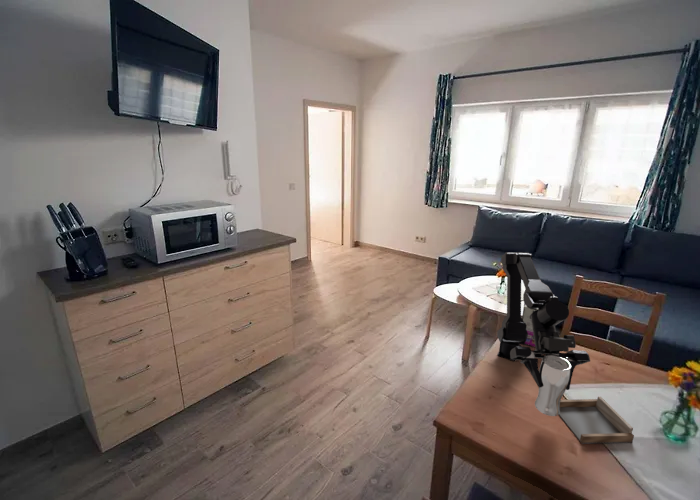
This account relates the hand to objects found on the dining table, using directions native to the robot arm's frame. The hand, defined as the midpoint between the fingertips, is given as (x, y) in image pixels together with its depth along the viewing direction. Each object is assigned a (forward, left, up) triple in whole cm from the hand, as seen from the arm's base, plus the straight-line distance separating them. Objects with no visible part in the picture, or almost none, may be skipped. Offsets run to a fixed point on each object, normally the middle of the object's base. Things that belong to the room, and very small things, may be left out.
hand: (553, 388), depth 90 cm
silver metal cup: (-1, +1, -8) cm, 8 cm away
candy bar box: (-12, +45, -13) cm, 48 cm away
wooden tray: (+9, +10, -13) cm, 19 cm away
